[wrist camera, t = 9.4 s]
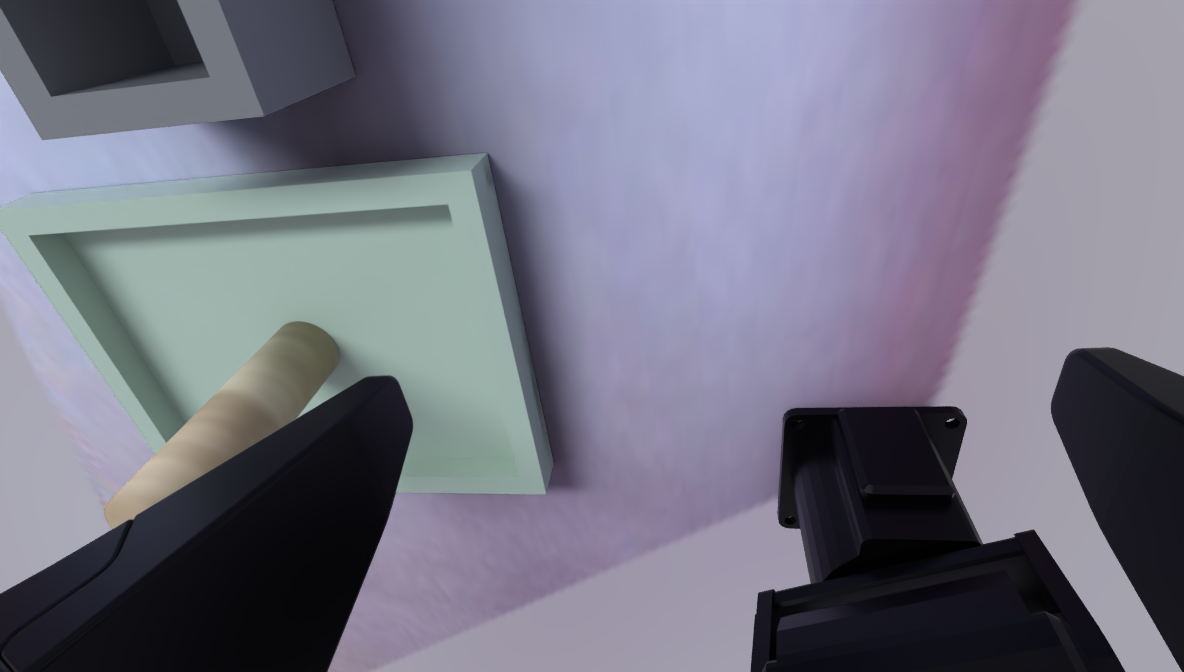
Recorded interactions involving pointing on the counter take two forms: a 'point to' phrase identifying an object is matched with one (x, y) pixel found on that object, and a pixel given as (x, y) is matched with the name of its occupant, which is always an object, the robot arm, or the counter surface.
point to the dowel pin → (234, 416)
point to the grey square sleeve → (165, 60)
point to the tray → (305, 299)
